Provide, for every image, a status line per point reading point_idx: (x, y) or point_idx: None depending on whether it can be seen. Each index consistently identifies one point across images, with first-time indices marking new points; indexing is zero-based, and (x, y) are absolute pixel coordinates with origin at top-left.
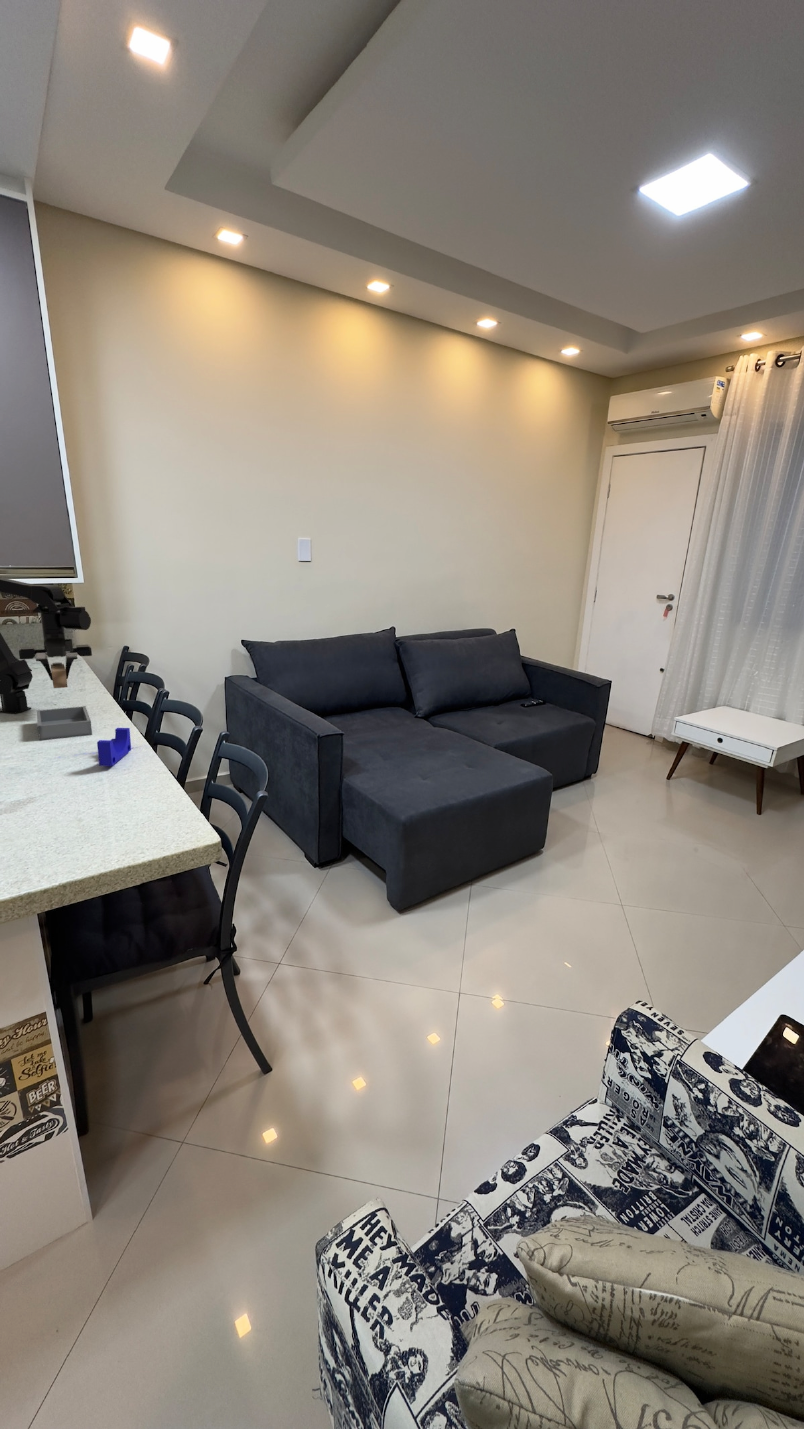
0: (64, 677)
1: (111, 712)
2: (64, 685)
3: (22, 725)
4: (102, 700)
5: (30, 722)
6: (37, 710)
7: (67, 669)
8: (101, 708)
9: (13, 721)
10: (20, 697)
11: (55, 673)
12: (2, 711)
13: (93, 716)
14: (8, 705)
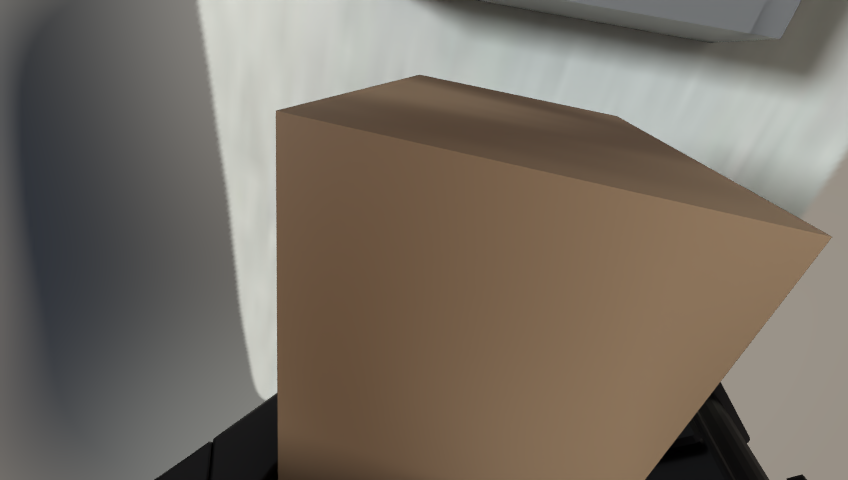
0: (410, 97)
1: (218, 81)
2: (455, 84)
3: (827, 57)
4: (251, 352)
5: (730, 117)
6: (776, 28)
7: (257, 448)
8: (265, 212)
9: (797, 212)
10: (685, 443)
11: (646, 171)
12: (736, 415)
13: (327, 36)
14: (733, 425)
